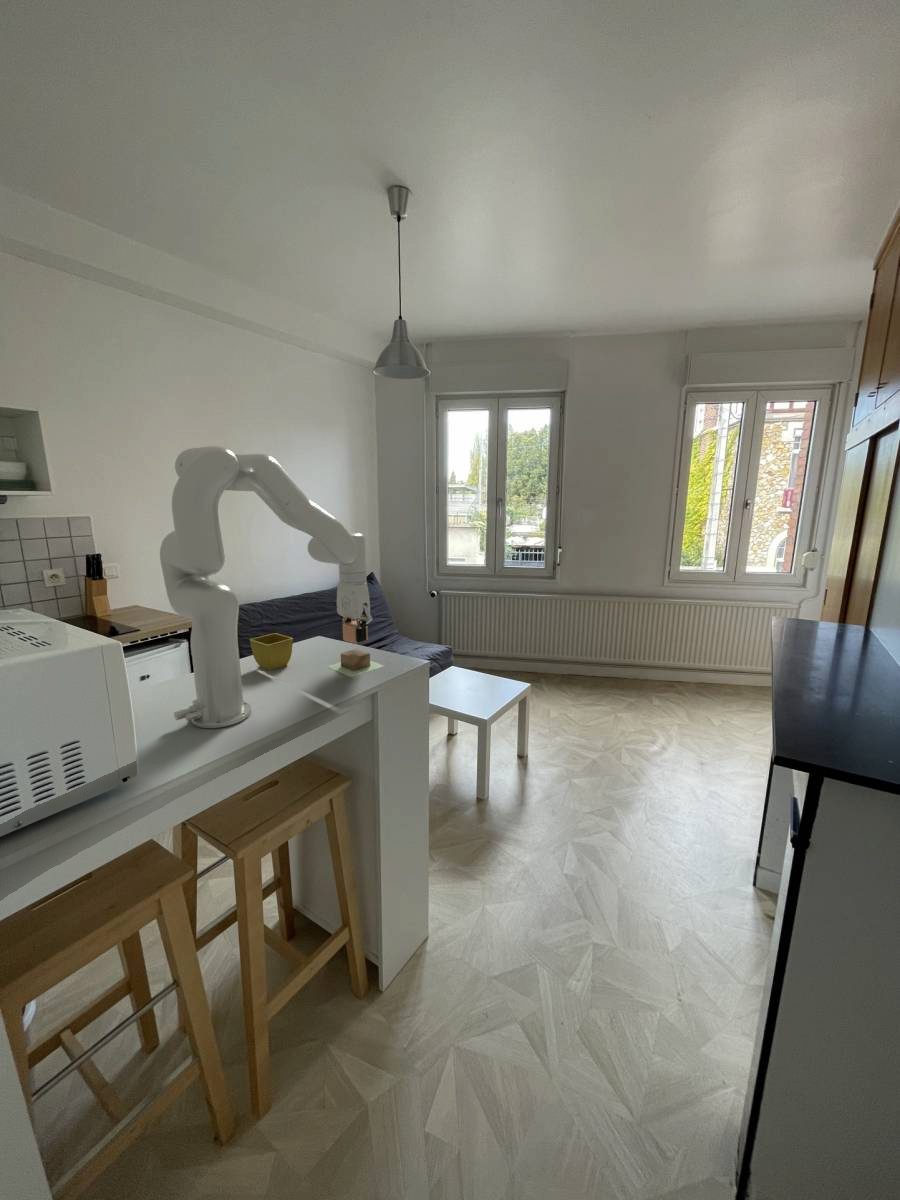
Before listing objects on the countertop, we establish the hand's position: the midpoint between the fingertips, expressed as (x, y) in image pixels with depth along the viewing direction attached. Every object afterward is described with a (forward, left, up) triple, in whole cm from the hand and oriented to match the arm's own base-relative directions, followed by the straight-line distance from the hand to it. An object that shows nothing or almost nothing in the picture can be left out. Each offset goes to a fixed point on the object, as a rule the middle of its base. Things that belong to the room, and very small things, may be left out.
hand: (355, 638), depth 142 cm
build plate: (0, 0, -9) cm, 9 cm away
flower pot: (-16, +18, -10) cm, 26 cm away
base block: (0, 0, -8) cm, 8 cm away
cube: (0, 0, -1) cm, 1 cm away
